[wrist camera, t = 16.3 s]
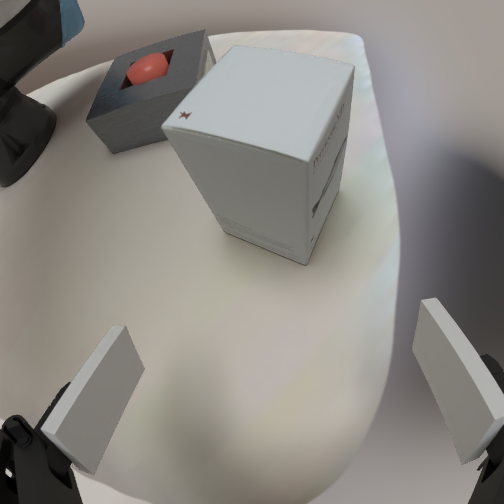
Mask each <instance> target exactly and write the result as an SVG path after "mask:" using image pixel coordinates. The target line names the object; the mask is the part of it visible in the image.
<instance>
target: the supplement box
mask: <svg viewBox="0 0 504 504" xmlns="http://www.w3.org/2000/svg"><path fill="white" fill-rule="evenodd" d="M354 70H355V66H354V65H352V64H348V63H344V62H340V61H336V60H332V59H328V58H323V57H318V56H313V55H308V54H302V53H297V52H290V51H283V50H275V49H267V48H257V47H247V46H238V45H236V46H233V47H232V48H231V49H230V50H229V51H228V52H227V53H226V54H225V55H224V56H223V57H222V58H221V59H220V60H219V61H218V62H217V63H216V64H215V65H214V66H213V67H212V68H211V69H210V70H209V71H208V72H207V74H206V75H205V76H204V77H203V78H202V79H201V80H200V81H199V82H198V83H197V84H196V85H195V87H194V88H193V89H192V90H191V91H190V92H189V93H188V95H187V96H186V97H185V98H184V99H183V101H182V102H181V103H180V104H179V105H178V106H177V108H176V109H175V110H174V111H173V112H172V114H171V115H170V116H169V117H168V118H167V120H166V121H165V122H164V123H163V124H162V127H161V128H162V130H163V132H164V133H165V135H166V137H167V138H168V140H169V142H170V143H171V145H172V146H173V148H174V150H175V151H176V153H177V155H178V157H179V158H180V160H181V161H182V163H183V165H184V166H185V168H186V170H187V171H188V173H189V175H190V176H191V178H192V180H193V181H194V183H195V185H196V186H197V188H198V190H199V191H200V193H201V194H202V196H203V198H204V199H205V201H206V203H207V204H208V206H209V208H210V209H211V211H212V213H213V214H214V216H215V217H216V219H217V221H218V222H219V224H220V226H221V227H222V229H223V230H224V232H226V233H229V234H231V235H234V236H236V237H238V238H241V239H243V240H246V241H248V242H250V243H253V244H255V245H257V246H260V247H262V248H265V249H267V250H269V251H272V252H274V253H277V254H279V255H281V256H284V257H286V258H289V259H291V260H293V261H296V262H299V263H301V264H303V265H306V264H307V263H308V261H309V258H310V256H311V253H312V250H313V248H314V245H315V243H316V240H317V238H318V236H319V233H320V231H321V229H322V226H323V224H324V222H325V219H326V217H327V215H328V213H329V210H330V208H331V206H332V204H333V202H334V199H335V197H336V195H337V193H338V191H339V187H340V181H341V175H342V169H343V163H344V157H345V150H346V143H347V136H348V128H349V120H350V110H351V101H352V91H353V80H354Z"/></svg>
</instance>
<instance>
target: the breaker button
mask: <svg viewBox="0 0 504 504" xmlns="http://www.w3.org/2000/svg"><path fill="white" fill-rule="evenodd" d="M168 68H169V64H168V62H167V60H166V58H165V56H164V54H162V53H153V54H149V55H146V56H144V57H142V58H140V59H139V60H137V61H136V62H135V63H133V64H132V65H131V66H130V67H129V69H128V70H127V76H128V78H129V80H130V81H131V83H132V85H136V84H139V83H142V82H145V81H149V80H152V79H155V78H158V77H162V76H165V75H167V71H168Z"/></svg>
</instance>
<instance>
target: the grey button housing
mask: <svg viewBox="0 0 504 504" xmlns="http://www.w3.org/2000/svg"><path fill="white" fill-rule="evenodd" d="M153 53H162V54H164V56H165V58H166V60H167V62H168V64H169V68H168V71H167V75H165V76H162V77H158V78H155V79H152V80H149V81H145V82H142V83H139V84H136V85H132V83H131V81H130V80H129V78H128V76H127V70H128V69H129V67H130V66H131V65H132V64H133V63H135V62H136V61H137V60H139V59H140V58H142V57H144V56H146V55H149V54H153ZM215 64H216V60H215V57H214V54H213V51H212V48H211V45H210V42H209V39H208V36H207V33H206V30H201V31H197V32H193V33H189V34H185V35H182V36H178V37H175V38H172V39H168V40H165V41H161V42H158V43H155V44H152V45H149V46H147V47H144V48H141V49H138V50H135V51H132V52H130V53H127V54H125V55H122V56H120V57H117V58H115V59H114V61H113V63H112V65H111V67H110V69H109V71H108V73H107V75H106V77H105V79H104V81H103V83H102V85H101V87H100V89H99V91H98V94H97V96H96V98H95V100H94V102H93V105H92V107H91V109H90V112H89V114H88V116H87V119H86V123H87V124H88V125H89V126H90V127H91V128H92V130H93V131H94V132H95V133H96V134H97V136H98V137H99V138H100V139H101V140H102V141H103V143H104V144H105V145H106V146H107V147H108V148H109V150H110V151H111V152H112V153H113V154H115V153H118V152H122V151H125V150H129V149H132V148H136V147H140V146H143V145H147V144H151V143H155V142H159V141H163V140H167V139H168V138H167V137H166V135H165V133H164V132H163V130H162V128H161V127H162V124H163V123H164V122H165V121H166V120H167V118H168V117H169V116H170V115H171V114H172V112H173V111H174V110H175V109H176V108H177V106H178V105H179V104H180V103H181V102H182V101H183V99H184V98H185V97H186V96H187V95H188V93H189V92H190V91H191V90H192V89H193V88H194V87H195V85H196V84H197V83H198V82H199V81H200V80H201V79H202V78H203V77H204V76H205V75H206V74H207V72H208V71H209V70H210V69H211V68H212V67H213V66H214V65H215Z"/></svg>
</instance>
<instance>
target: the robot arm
mask: <svg viewBox="0 0 504 504" xmlns="http://www.w3.org/2000/svg"><path fill="white" fill-rule="evenodd" d="M84 23H85V21H84V17H83V15H82V12H81V10H80V7H79V5H78V3H77V0H0V186H3V187H5V186H8V185H10V184H12V183H14V182H15V181H16V180H17V179H19V178H20V177H21V176H22V175H23V174H24V173H25V172H26V171H27V170H28V169H29V167H30V166H31V165H32V164H33V163H34V161H35V160H36V159H37V157H38V156H39V155H40V153H41V152H42V150H43V149H44V147H45V145H46V144H47V142H48V140H49V138H50V136H51V134H52V132H53V130H54V127H55V123H56V115H55V114H54V113H53V111H52V110H51V109H50V108H49V107H48V106H47V105H45V104H41V103H39V102H38V101H36V100H34V99H32V98H30V97H28V96H26V95H24V94H22V93H21V92H20V91H19V90H18V89H17V88H16V87H15V85H16V83H18V82H19V81H20V80H21V79H22V78H23V77H25V76H26V75H27V74H28V73H29V72H30V71H32V70H33V69H34V68H35V67H36V66H37V65H39V64H40V63H41V62H42V61H44V60H45V59H46V58H48V57H49V56H50V55H51V54H53V53H54V52H55V51H57V50H58V49H60V48H62V47H63V46H64V45H65V44H66V43H67V42H68V41H70V40H71V39H72V38H73V37H75V36H76V35H78V34H79V33H80V32H81V31H82V29H83V27H84ZM412 350H413V352H414V354H415V356H416V358H417V360H418V362H419V364H420V367H421V368H422V371H423V373H424V375H425V377H426V379H427V381H428V383H429V386H430V388H431V390H432V392H433V394H434V397H435V399H436V401H437V403H438V406H439V408H440V410H441V413H442V415H443V418H444V420H445V422H446V425H447V427H448V430H449V432H450V435H451V437H452V440H453V443H454V445H455V448H456V451H457V453H458V456H459V459H460V462H461V465H463V464H466V463H468V462H470V461H473V460H475V459H477V458H479V457H480V456H481V455H482V453H483V452H484V451H485V450H487V453H488V456H487V458H486V459H485V460H484V461H483V462H482V463H481V464H480V466H479V467H478V469H477V470H478V471H479V470H480V469H481V468H482V467H483V469H482V471H481V474H480V476H479V479H478V481H477V484H476V486H475V489H474V491H473V494H472V496H471V498H470V500H469V502H468V504H504V372H503V369H502V368H501V366H500V365H499V363H498V362H497V361H496V360H495V359H493V358H492V357H491V356H489V355H488V354H485V355H482V356H478V354H477V352H476V351H475V350H474V348H473V346H472V345H471V344H470V342H469V341H468V340H467V338H466V337H465V335H464V334H463V332H462V331H461V330H460V329H459V327H458V326H457V324H456V323H455V322H454V320H453V319H452V318H451V317H450V315H449V314H448V313H447V311H446V310H445V309H444V307H443V306H442V305H441V303H440V302H439V301H438V300H437V298H431V299H426V300H421V304H420V311H419V317H418V322H417V328H416V333H415V339H414V343H413V348H412ZM144 369H145V368H144V366H143V364H142V362H141V360H140V358H139V355H138V353H137V351H136V349H135V346H134V344H133V342H132V340H131V337H130V335H129V333H128V330H127V328H126V326H117V325H113V326H112V327H111V328H110V330H109V331H108V332H107V334H106V335H105V336H104V338H103V339H102V340H101V342H100V343H99V344H98V346H97V347H96V348H95V350H94V351H93V353H92V354H91V355H90V357H89V358H88V360H87V361H86V362H85V364H84V365H83V367H82V368H81V369H80V371H79V372H78V374H77V375H76V376H75V378H74V379H73V381H72V382H69V383H67V384H66V385H65V386H64V387H63V388H61V390H60V391H59V392H58V394H57V395H56V397H55V399H54V400H53V401H52V403H51V406H49V407H48V409H47V410H46V412H45V413H44V415H43V416H42V418H41V419H40V421H39V422H38V424H37V425H36V427H35V428H34V429H33V428H32V427H31V426H30V425H29V424H28V422H27V421H26V420H25V419H24V418H23V417H22V416H20V415H13V416H11V417H9V418H8V419H7V420H6V421H5V422H4V424H3V425H2V429H0V504H83V503H82V499H81V497H80V493H79V490H78V487H77V483H76V480H75V476H74V473H73V470H72V469H71V468H70V465H71V463H73V464H74V465H75V466H76V467H77V468H78V469H80V470H82V471H85V472H87V473H90V474H93V475H94V474H95V471H96V469H97V467H98V465H99V463H100V460H101V458H102V456H103V454H104V452H105V449H106V447H107V445H108V443H109V441H110V439H111V437H112V435H113V432H114V430H115V428H116V426H117V424H118V422H119V420H120V418H121V416H122V414H123V412H124V410H125V408H126V405H127V403H128V401H129V399H130V397H131V395H132V393H133V391H134V389H135V387H136V385H137V383H138V381H139V379H140V377H141V375H142V373H143V371H144ZM6 468H7V469H8V470H9V471H10V472H11V473H12V476H11V478H10V477H9V476H8V475H7V474H5V471H6Z"/></svg>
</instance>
